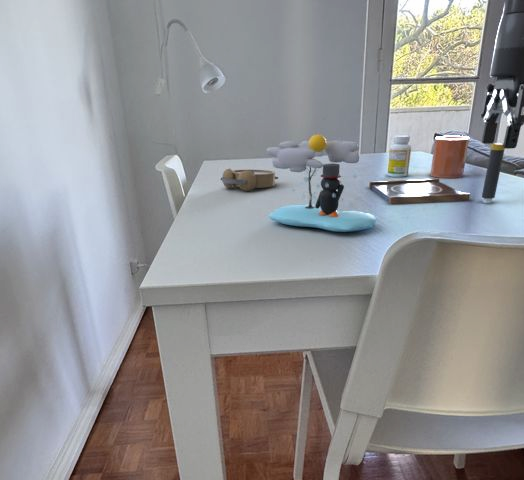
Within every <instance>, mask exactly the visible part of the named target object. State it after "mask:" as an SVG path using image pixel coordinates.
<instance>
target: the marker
mask: <svg viewBox="0 0 524 480" xmlns="http://www.w3.org/2000/svg"><path fill="white" fill-rule="evenodd" d="M503 144H504V142H493V143H492V144H490V151H489V157H488V163H487V166H486V167H487V168H486V173H485V177H484V183H483V188H482V194H481V198H482V203H484V204H491V203H492V202H493V199H495V197H496V193H497V188H498V184H499V179H500V173H501V169H502V164H503V159H504V153H505V149H506V148H504V147H503Z"/></svg>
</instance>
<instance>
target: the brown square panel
mask: <svg viewBox="0 0 524 480" xmlns="http://www.w3.org/2000/svg"><path fill="white" fill-rule="evenodd" d="M440 179H441V178H424V179H423V178H422V179H402V180H400V179H399V180H381V181H369V185H368V188H369V189H371V190H372V191H374V192H375V193H376V194H378V195H379V196H380V197H381V198H383V199H384V200H385V201H387V202H388V204H389V205H402V204H423V203H426V204H427V203H444V202H447V203H448V202H466V201H468V202H469V201H470V197H471V193H470V192H461V191H459V190H457V189H456V188H454V187H451V186H449V185H446V184H445V183H443V182H441V181H440Z"/></svg>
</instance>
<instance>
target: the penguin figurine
mask: <svg viewBox="0 0 524 480" xmlns="http://www.w3.org/2000/svg"><path fill="white" fill-rule="evenodd" d="M359 150H360V147H359V144H358V143H357V142H356V141H351V140H342V139H334V140H328V141H327V139H326V137H325V136H324V135H322V134H319V133H318V134H314V135H312V136H311V137H310V136H309V140H305V141H301V142H300V143H298V142H297V141H294V140H286V141H282V142H279V146H271V147H267V148H266V152H267V154H268V155H269V156H272V157H273V159H272V160H271V162H272V166H273V167H274V168H275V169H280V170H281V169H282V170H286V169H287V170H288V169H289V171H290V172H292V173H303V172H304V174H305V175H307V174H308V177H307V176H304V177H303V179H304V182H302V183H301V182H300V184H301V187H303V188H305V187H306V185H305V183H308V194H309V195H308V204H293V205H284V206H281V207H278V208H276V209H275V210H273V211H272V212H271V213H270V214H269V215H268V217H269V218H270V220H272V221H274V222H277V223H279V224H282V225H287V226H294V227H302V228H303V227H304V228H316V229H321V230H325V231H329V232H330V231H331V232H335V233H336V232H337V233H350V232H356V231H363V230H367V229H370V228H372V227H374V226H375V224H376V223H377V218H376V217H375V215H373V214H372V213H368V212H364V211H360V210H359V211H358V210H340V211H339V210H338V208H339V201H340V202H342V203H343V202H344V198H341V197H342V194H343V191H344V189H345V185H344V183H343V184H342V179H340V178H341V177H342V175H341V174H340V164H341V163H342V162H343V163H346V164H357V163H358V162H359V161H360V154H359V153H358V152H356V151H359ZM324 152H325V153H326V154H327V158H328V161H329V162H330V163H322V162H321V161H320V160H318V159H316V157H323V156H324ZM339 163H340V164H339ZM308 168H309V169H308ZM321 168H322V174H321V175H320V177H321V178H322V179H321V181H320V184H319V183H318V182H317V183H316V184H315V188H316V189H317V190H318V188H321V190H320V191H319V194H318V197H317V196H316V191H314V193H313V194H312V185H311V180H312V177H315V176H316V175H317V172H318V169H321ZM312 169H313V170H312ZM316 169H317V170H316ZM311 173H312V174H311ZM353 179H355V180H357V179H358V175H353ZM295 191H296V189H295V188H290V192H291V194H294V193H296V192H295ZM304 193H305V192H303V193H301V194H300V195H301V198H302V199H305V198H306V194H304ZM312 202H313V203H314V204H313V203H312ZM347 206H348V207H349V208H350V207H352V206H353V203H351V202H350V201H349V202H348V205H347Z"/></svg>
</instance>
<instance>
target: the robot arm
mask: <svg viewBox="0 0 524 480" xmlns="http://www.w3.org/2000/svg"><path fill="white" fill-rule="evenodd" d="M489 76H490V77H491V78H496V80H495V83H487V84H486V86H485V89H484V94H483V97H482V98H483V99H482V104H481V108H480V113H479V118H480V119H483V123H484V128H483V132H482V138H481V143H482V144H483V145H484V144H485V145H486V144H487V145H488V144H490V145H491V144H493V143H495V139H496V134H497V129H498V124H499V123H498V121H499V120H500V118H501V116H502V114H503V115H504V116H506V122H507V126H506V130H505V135H504V139H503V143H504V144H503V147H504V148H505V149H506V150H509V149H516V148H517V146H518V142H519V136H520V132H521V127H522V126H524V0H504V4H503V9H502V15H501V19H500V22H499V25H498V29H497V32H496V38H495V44H494V50H493V54H492V61H491V65H490V72H489Z"/></svg>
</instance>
